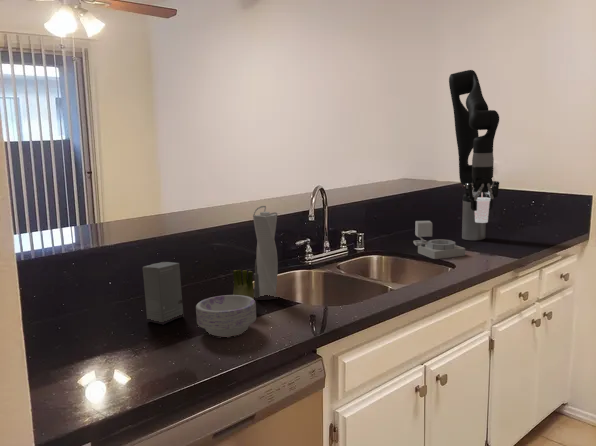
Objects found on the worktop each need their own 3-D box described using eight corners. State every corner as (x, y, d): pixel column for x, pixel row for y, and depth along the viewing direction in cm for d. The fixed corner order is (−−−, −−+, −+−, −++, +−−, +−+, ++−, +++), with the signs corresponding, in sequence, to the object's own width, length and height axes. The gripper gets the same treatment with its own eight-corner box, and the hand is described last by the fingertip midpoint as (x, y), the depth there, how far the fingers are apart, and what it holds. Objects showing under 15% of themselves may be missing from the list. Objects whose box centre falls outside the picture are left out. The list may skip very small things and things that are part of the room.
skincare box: (163, 326, 146) (159, 269, 144) (144, 322, 150) (140, 266, 148) (185, 317, 154) (181, 262, 151) (167, 313, 157) (163, 259, 155)
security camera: (432, 245, 237) (432, 222, 235) (415, 245, 237) (416, 223, 235) (429, 242, 243) (429, 220, 241) (413, 242, 243) (413, 220, 241)
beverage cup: (491, 223, 204) (492, 185, 201) (473, 223, 205) (474, 186, 202) (488, 220, 210) (489, 183, 207) (472, 220, 211) (472, 184, 208)
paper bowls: (217, 319, 151) (215, 291, 150) (266, 325, 146) (265, 296, 144) (185, 338, 138) (183, 308, 136) (239, 346, 132) (237, 314, 130)
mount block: (447, 249, 228) (447, 237, 227) (465, 255, 217) (465, 243, 216) (417, 253, 223) (418, 241, 222) (434, 259, 212) (434, 246, 211)
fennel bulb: (256, 310, 158) (254, 269, 156) (244, 314, 154) (242, 273, 152) (242, 306, 162) (241, 266, 160) (230, 310, 158) (228, 270, 156)
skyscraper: (253, 293, 174) (249, 205, 170) (279, 291, 175) (276, 204, 171) (254, 301, 166) (250, 209, 161) (281, 299, 167) (278, 208, 162)
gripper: (491, 163, 209) (490, 207, 212) (460, 165, 205) (459, 210, 208) (505, 164, 202) (503, 209, 205) (472, 166, 198) (471, 212, 201)
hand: (481, 209), depth 206 cm, fingers closed on beverage cup, 6 cm apart
